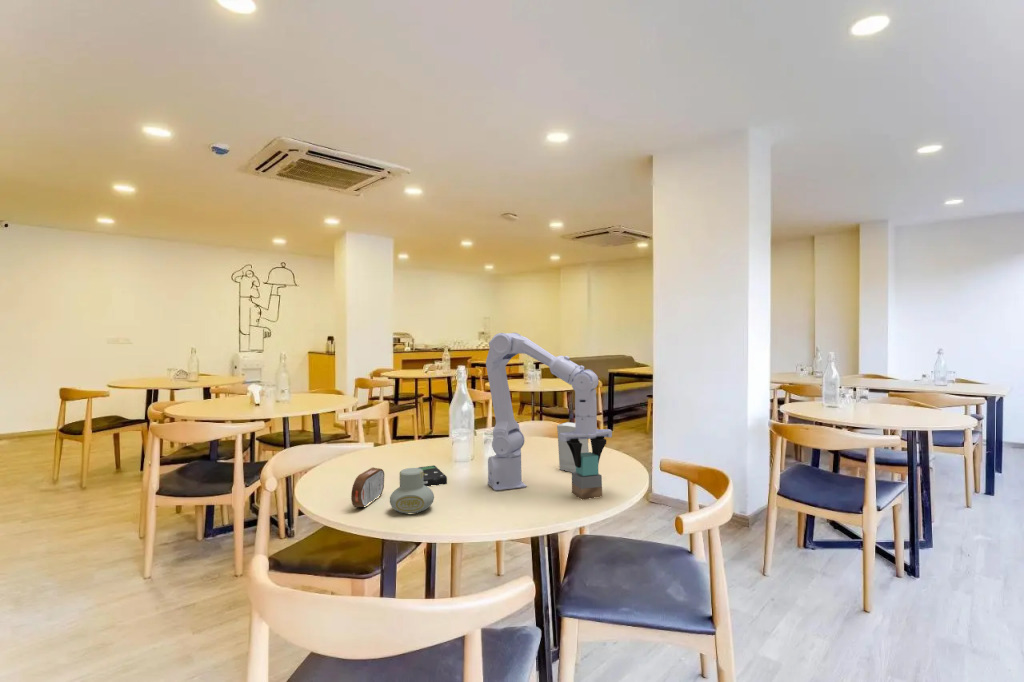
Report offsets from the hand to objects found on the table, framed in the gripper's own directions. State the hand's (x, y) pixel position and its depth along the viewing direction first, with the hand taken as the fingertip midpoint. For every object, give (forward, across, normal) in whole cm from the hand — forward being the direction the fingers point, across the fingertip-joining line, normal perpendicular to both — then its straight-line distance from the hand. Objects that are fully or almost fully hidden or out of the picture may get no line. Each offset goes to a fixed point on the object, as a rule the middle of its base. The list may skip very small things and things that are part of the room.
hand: (586, 465), depth 136 cm
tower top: (+5, 0, 0) cm, 5 cm away
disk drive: (+9, -39, +31) cm, 51 cm away
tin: (+8, -56, +15) cm, 59 cm away
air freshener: (+8, -46, +5) cm, 47 cm away
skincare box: (+8, +7, +24) cm, 26 cm away
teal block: (+2, 0, 0) cm, 2 cm away
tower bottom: (+8, 0, 0) cm, 8 cm away
